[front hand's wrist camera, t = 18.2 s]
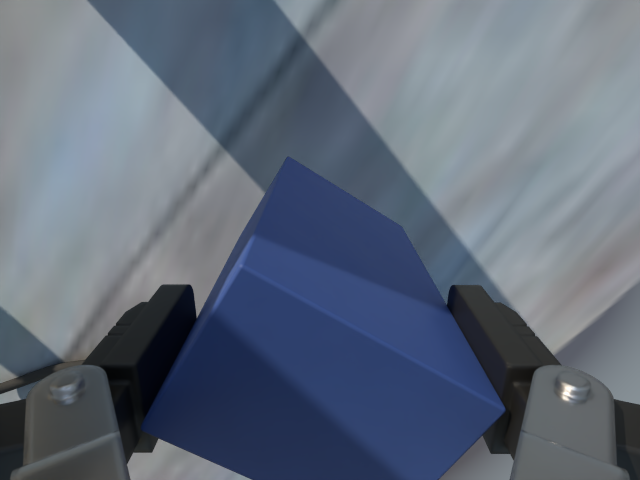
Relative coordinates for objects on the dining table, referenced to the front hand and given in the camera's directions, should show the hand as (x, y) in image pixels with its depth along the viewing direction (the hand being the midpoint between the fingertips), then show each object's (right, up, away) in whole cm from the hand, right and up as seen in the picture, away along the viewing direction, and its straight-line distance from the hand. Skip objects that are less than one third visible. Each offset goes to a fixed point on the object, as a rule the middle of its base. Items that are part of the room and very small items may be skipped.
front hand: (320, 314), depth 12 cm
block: (0, +2, +6) cm, 7 cm away
